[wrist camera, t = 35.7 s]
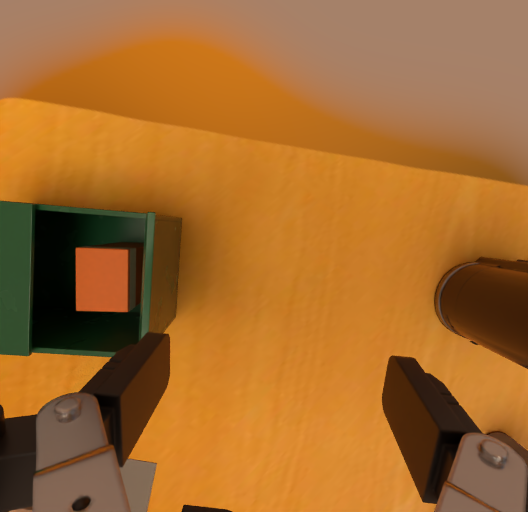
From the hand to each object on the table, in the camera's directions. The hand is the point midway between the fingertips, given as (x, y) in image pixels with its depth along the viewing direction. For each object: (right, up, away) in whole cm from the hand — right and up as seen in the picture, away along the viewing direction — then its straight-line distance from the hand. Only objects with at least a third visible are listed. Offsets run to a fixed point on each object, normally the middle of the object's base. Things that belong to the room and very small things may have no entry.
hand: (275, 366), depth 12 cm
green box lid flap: (-8, +1, +10) cm, 13 cm away
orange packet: (-15, +3, +26) cm, 30 cm away
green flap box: (-19, +3, +26) cm, 32 cm away
